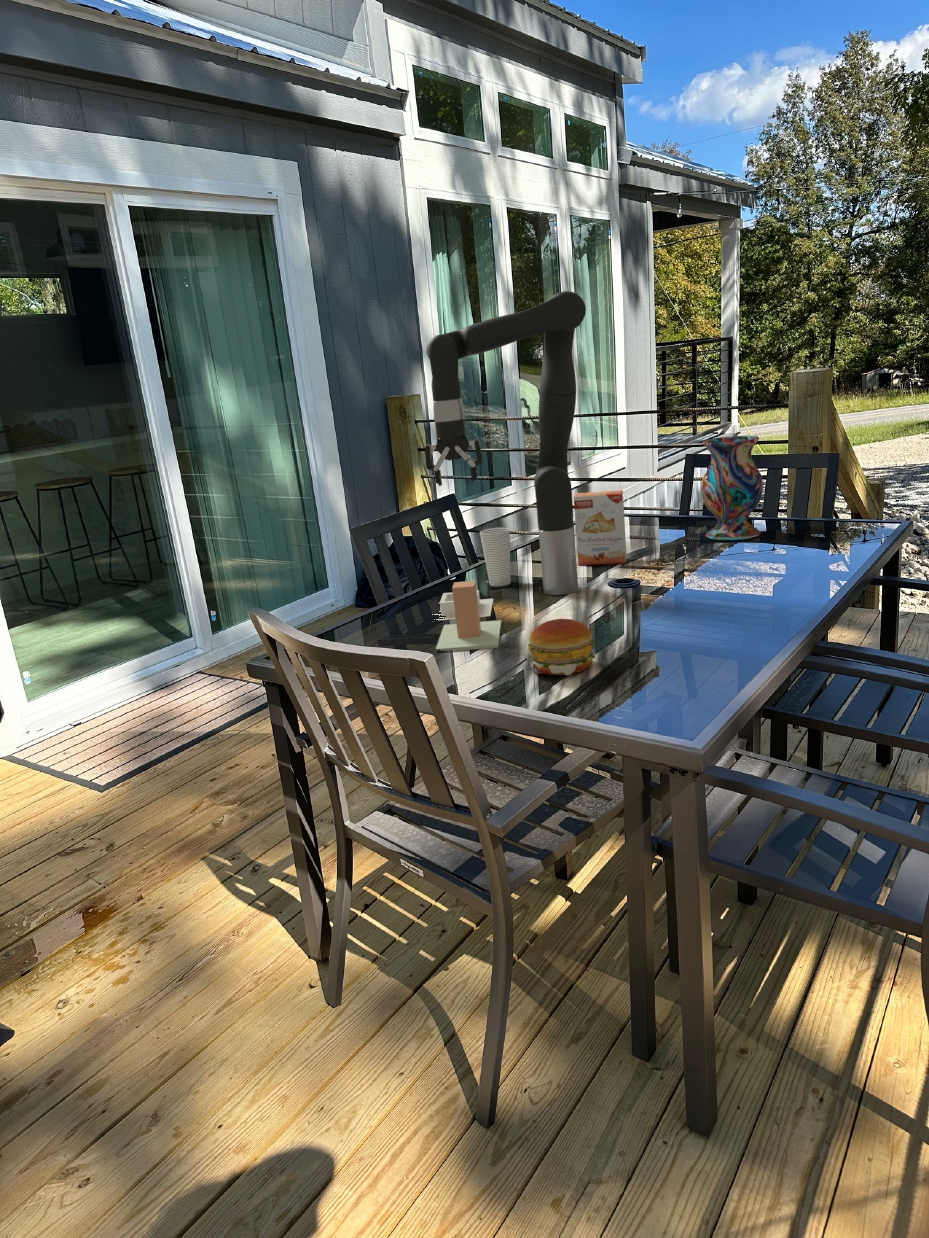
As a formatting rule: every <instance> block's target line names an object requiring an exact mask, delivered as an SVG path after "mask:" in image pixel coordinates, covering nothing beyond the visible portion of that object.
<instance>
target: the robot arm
mask: <svg viewBox="0 0 929 1238" xmlns="http://www.w3.org/2000/svg"><path fill="white" fill-rule="evenodd" d="M586 311H587V307H586V303H585V301H584V299H583V298H582V297H581V296H580V295H579V294H577V293H575V292H573V291H570V290H564V291H560V292H556V293H554V294H552V295H551V296H550V297H548V299H547V300H546V301H544V302H542V303H540V304H538V305H536V306H533V307H530V308H528V309H525V310H524V309H523V310H521V311H517V312H514V313H510V314H505V315H501V316H497V317H493V318H489V319H486V320H483V321H479V322H475V323H473V324H469V325H468V326H465V327H463V328H461V329H458V330H457V329H456V330H453V331H449V332H446V333H440V334H437V335H434V336H433V337H432V338H430V340H429V341H428V342H427V344H426V351H425V352H426V356H427V358H428V360H429V363H430V364H429V365H430V370H431V394H432V400H433V406H432V407H433V420H434V426H435V434H436V443H435V444H427V445H425V447H424V453H425V468H426V469H427V470H431V471H433V472H434V479H435V480H434V481H435V483H436V484H438V486H439V487H441V486H442V485H443V480H442V473H441V472H442V471H441V469H440V468H441V466H442V464H443V462H444V461H446V460H447V461H452V460H461V459H462V458H463V460H464V461H465V462H467V464H468V465H469V466H470V476H471V483H475V482H476V481H477V479H478V469H477V467H478V466H479V465H481V464H483V461H484V458H483V452H482V447H481V440H480V439H478V438H477V439H474V440H468V437H467V436H468V435H467V428H466V427H467V425H466V418H465V407H464V405H463V400H462V393H461V384H460V383H461V382H460V379H459V377H460V376H459V360H461V359H463V358H466V357H469V356H475V355H479V354H483V353H487V352H490V351H493V350H496V349H499V348H502V347H504V346H507V345H510V344H513V343H514V342H518V341H520V340H524V339H527V338H530V337H533V336H537V335H541V334H543V359H542V364H541V365H542V366H541V375H540V376H541V377H540V386H539V398H538V431H539V433H538V435H539V448H538V449H539V450H538V458H537V464H536V470H535V475H534V480H533V484H534V486H533V487H534V491H535V502H536V515H537V517H536V518H537V529H538V539H539V550H540V562H541V563H540V564H541V573H542V575H541V576H542V586H543V593H544V594H546V595H550V596H562V595H564V596H565V595H569V594H573V593H578V592H580V590H579V589H580V588H579V578H578V566H577V565H578V564H577V563H578V560H577V551H576V542H575V541H576V540H575V530H574V501H573V489H572V481H571V478H570V476H569V467H568V449H569V441H570V437H571V432H572V431H573V425H574V419H575V412H576V400H577V379H576V373H575V372H576V371H575V365H574V358H573V357H574V356H573V349H574V348H573V347H574V337H575V330H576V328H578V327H579V326H580V325H582V322H584V319H585V317H586V313H587V312H586ZM470 446H471V448H472V449H473V450H475V454H476V460H475V459H474V458H473V457H472V456H471V455H470V454H469V453H468V452H467V451H468V448H469V447H470ZM435 450H436V451H437V452H438V453H439V454H440V456H439V458H438V460H437V461H436V463H435V464H433V459H432V454H434V453H435Z"/></svg>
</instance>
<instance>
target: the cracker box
mask: <svg viewBox="0 0 929 1238" xmlns="http://www.w3.org/2000/svg"><path fill="white" fill-rule="evenodd" d="M624 503H625V502H624V491H623V489H622V490H621V489H620V490H608V491H607V490H605V491H592V492H577V493H575V494H574V495H573V510H574V522H575V524H574V525H575V536H576V538H575V539H576V554H577V563H578V564H577V565H578V566H587V565H589V566H590V565H591V566H592V565H609V564H610V565H612V564H614V565H615V564H626V561H627V544H626V543H627V541H626V524H625V521H626V520H625V505H624Z"/></svg>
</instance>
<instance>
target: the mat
mask: <svg viewBox="0 0 929 1238" xmlns="http://www.w3.org/2000/svg"><path fill="white" fill-rule="evenodd" d="M480 625H481V632H480V636H478V637H466V638H458V633H457V625H456V623H452V624H450V623H449V624H444V625H443V627H442V630H441V633H440V636H439V638H438V641H437V644H436V646H435V650H436V649H437V650H438V649H440V650H460V651H469V650H470V651H471V650H473V651H474V650H484V649H485V650H487V649H496V648H497V649H498V648H499V644H500V637H501V628H502V627H501V626H502V619H498V620H488V621H486V620H485V621H480Z"/></svg>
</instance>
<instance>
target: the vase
mask: <svg viewBox="0 0 929 1238" xmlns="http://www.w3.org/2000/svg"><path fill="white" fill-rule="evenodd" d="M759 440H760V437H759V436H757V435H734V436H733V435H730V436H722V437H715V438H709V439H705V440H703V442H702V445H704V446H705V448H706V449H707V450H708V451H709V454H710V459H711V461H710V463H709V465H708V467H707V469H706V471H705V473H704V475H703V477H702V479H701V487H700V490H701V498H702V500H703V504H704V505H705V506H706V508H707V510H708V511H709V512H710V513H711V514H712V515H713V516H714V517H715V519H716V521H717V522H718V523H717V524H716V525H715V526H714V527H713V528H712V529H710V530H708V532H707V533H705V537H706V539H707V538H708V539H711V540H716V541H739V540H741V541H742V540H748V539H753V538H756V537H758V536H760V535H761V534H762V532H761V531H760V530H759V529H758V528H756V527H755V526H753V525H751V524H750V522H749V521H748V519H749V517H750V516H751V515H752V513H753V512H754V511H755V509H756V508H757V507H758V505H759V503H760V502H761V500H762V497H763V492H764V481H763V476H762V474H761V472H760V470H759V468H758V467H757V465H756V463H755V462H754V460H753V458H752V450H753V448H754V447H755V445H756V444H757V442H759Z"/></svg>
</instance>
